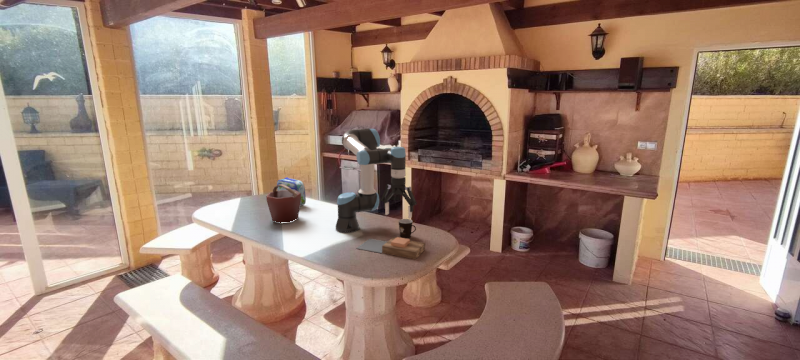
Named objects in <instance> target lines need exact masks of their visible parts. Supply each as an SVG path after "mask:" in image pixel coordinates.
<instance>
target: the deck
mask: <svg viewBox="0 0 800 360" xmlns="http://www.w3.org/2000/svg"><path fill="white" fill-rule="evenodd" d="M395 238H396V237H392V238H391V239H389V240H388V241H387V243H385V244H384V245H383V246H382V253H381V254H387V255H393V256H398V257H401V258H408V259H413V260H416V259H417V258H419V257H420V255H422V253H423V252H424V251H425V250H426V242H421V241H415V240H410V243H409V244H408V245H407V246H406V247H404V248H403V247H398V246H392V245H391V242H392V241H393V240H394V239H395Z"/></svg>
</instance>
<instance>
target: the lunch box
mask: <svg viewBox="0 0 800 360" xmlns="http://www.w3.org/2000/svg"><path fill="white" fill-rule="evenodd" d="M280 184H283V185H286V186H288V187H289V188H291V189H292V190H296V191H298V192H299V193H301V202H300V207H301V206H304V205H305V204H306V201H307V199H306V198H307V197H306V189H305V184H304V183H303V181H302V180H299V179H295V178H290V177H288V176H287V177H284V178H282V179H278V180H277V182H276V186H277V185H280ZM280 190H287V189H285V188H284V187H282V186H279V187H278V188H277V191H280Z"/></svg>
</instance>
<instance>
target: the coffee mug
mask: <svg viewBox="0 0 800 360" xmlns="http://www.w3.org/2000/svg"><path fill="white" fill-rule="evenodd" d="M413 228H414V230H413V231H412V229H413ZM398 229H399V238H405V239H410V238H411V237H412V234H413V233H414V232H415V231H416V230H417V228H416V226H415V225H413V220H412V219H411V218H401V219H399V220H398Z"/></svg>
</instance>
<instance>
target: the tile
mask: <svg viewBox="0 0 800 360" xmlns="http://www.w3.org/2000/svg"><path fill="white" fill-rule="evenodd" d="M394 238H395V239H394V240H393V241H392V242H391V245H392V246H398V247H403V248H404V247H406V246H407V245H408V244H409V243H410V241H411V239H410V238H401V237H400V236H397V237H394Z"/></svg>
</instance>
